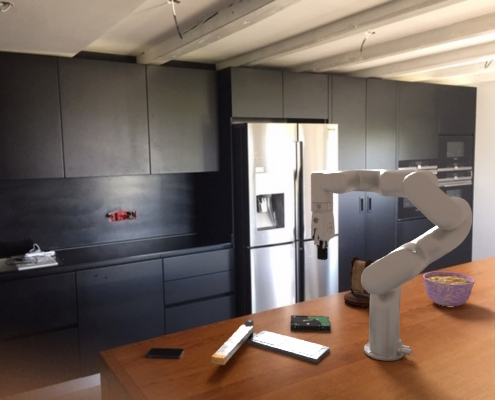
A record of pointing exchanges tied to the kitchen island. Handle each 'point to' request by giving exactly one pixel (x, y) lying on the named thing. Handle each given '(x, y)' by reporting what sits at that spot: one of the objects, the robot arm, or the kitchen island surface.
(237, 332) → the swing bar
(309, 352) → the label panel
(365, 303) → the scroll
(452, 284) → the bowl of food
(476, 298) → the kitchen island surface
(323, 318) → the disk drive
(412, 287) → the kitchen island surface
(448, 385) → the kitchen island surface
